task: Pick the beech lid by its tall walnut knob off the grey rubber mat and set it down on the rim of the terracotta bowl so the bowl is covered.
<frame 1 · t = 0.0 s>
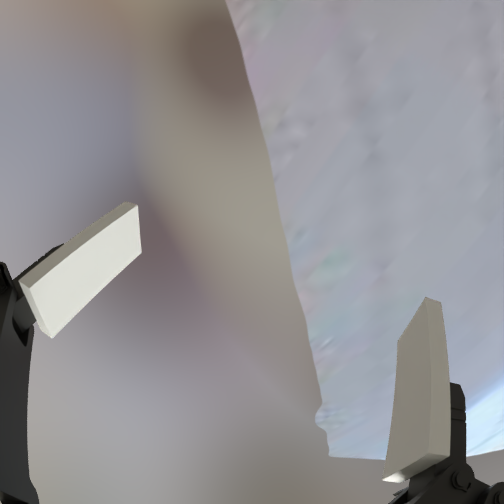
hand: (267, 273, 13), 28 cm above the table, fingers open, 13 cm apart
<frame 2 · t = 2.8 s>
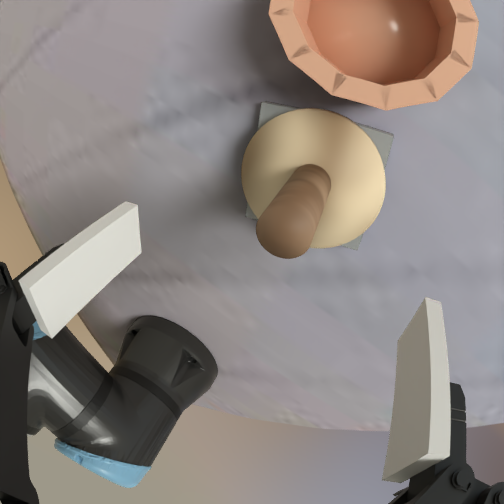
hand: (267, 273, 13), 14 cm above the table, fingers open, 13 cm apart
bowl: (374, 24, 16), on the table
lid: (313, 178, 23), point 1 cm above the table, touching mat
mat: (315, 174, 24), on the table
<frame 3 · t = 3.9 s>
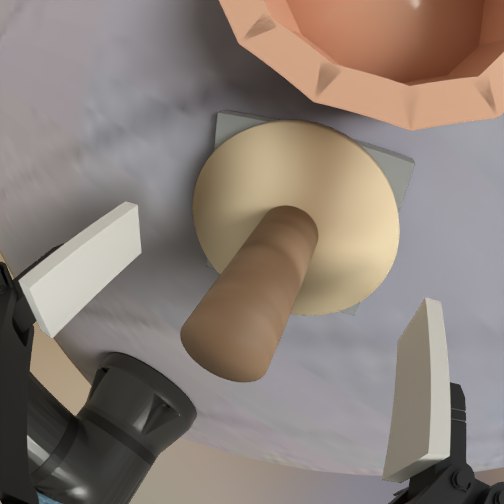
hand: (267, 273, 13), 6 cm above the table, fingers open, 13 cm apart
lid: (294, 222, 17), point 1 cm above the table, touching mat
mat: (298, 214, 17), on the table
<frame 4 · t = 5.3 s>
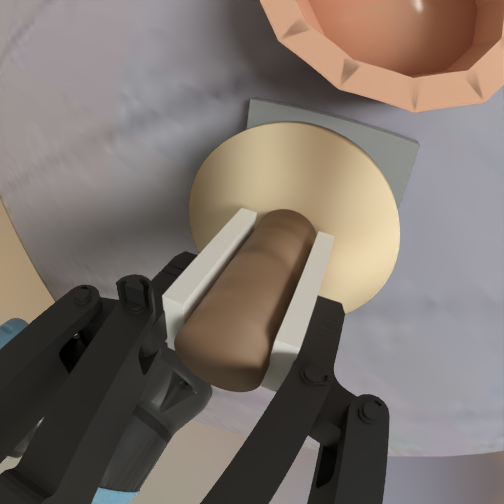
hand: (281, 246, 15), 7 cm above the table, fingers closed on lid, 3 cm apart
bowl: (393, 0, 11), on the table
lid: (292, 226, 16), point 5 cm above the table, touching gripper
mat: (319, 189, 20), on the table
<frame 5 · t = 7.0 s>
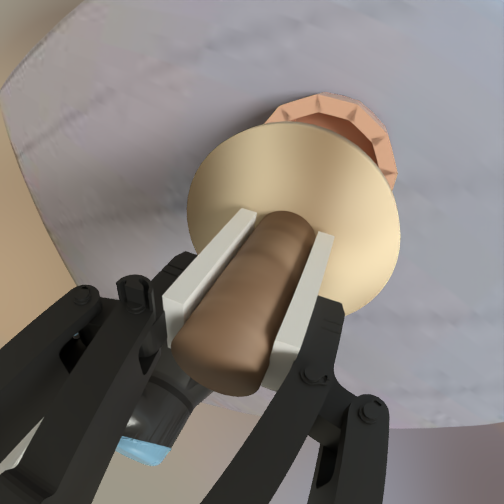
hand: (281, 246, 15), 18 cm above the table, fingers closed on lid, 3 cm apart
bowl: (330, 153, 29), on the table
lid: (291, 227, 16), point 16 cm above the table, touching gripper
when the fingers open (10 cm above the table, at t = 9.0 s): lid drops 3 cm, resting on bowl.
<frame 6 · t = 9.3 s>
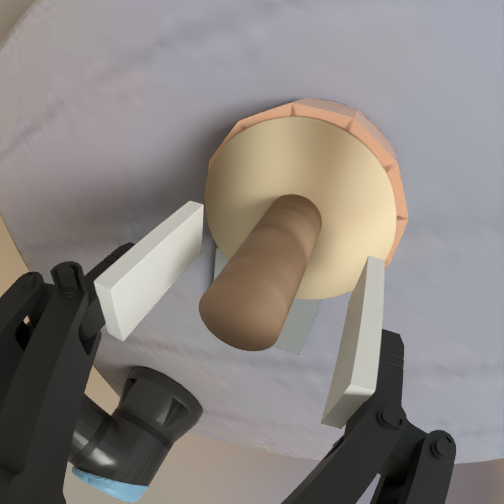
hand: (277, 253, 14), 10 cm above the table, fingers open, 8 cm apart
bowl: (317, 180, 22), on the table
lid: (299, 211, 18), point 5 cm above the table, touching bowl
mat: (264, 300, 30), on the table
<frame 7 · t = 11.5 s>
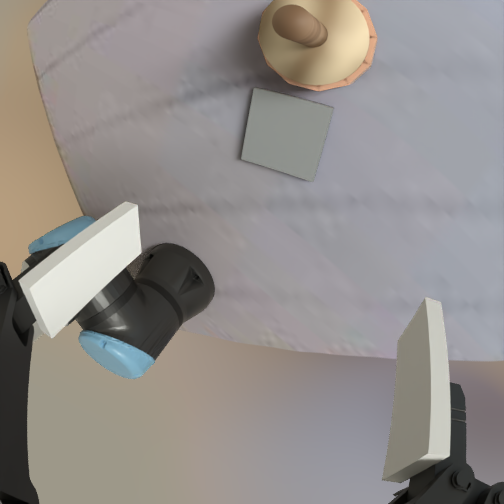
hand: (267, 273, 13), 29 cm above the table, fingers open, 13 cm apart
bowl: (324, 40, 29), on the table
lid: (314, 35, 25), point 5 cm above the table, touching bowl
mat: (286, 132, 38), on the table
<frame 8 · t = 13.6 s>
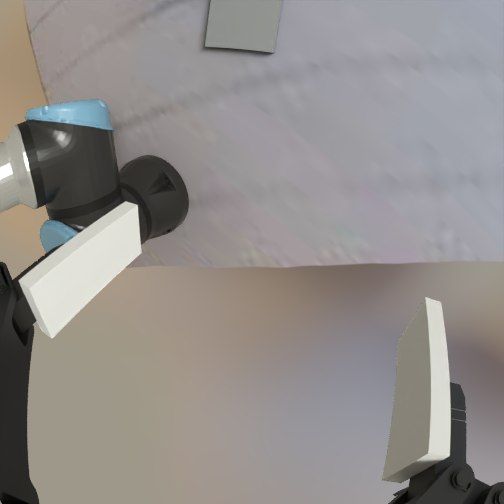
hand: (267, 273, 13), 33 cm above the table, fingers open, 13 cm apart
mat: (244, 17, 34), on the table
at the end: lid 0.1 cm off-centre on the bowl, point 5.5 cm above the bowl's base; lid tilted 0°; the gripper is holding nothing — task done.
